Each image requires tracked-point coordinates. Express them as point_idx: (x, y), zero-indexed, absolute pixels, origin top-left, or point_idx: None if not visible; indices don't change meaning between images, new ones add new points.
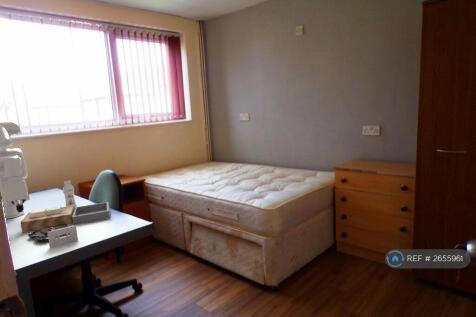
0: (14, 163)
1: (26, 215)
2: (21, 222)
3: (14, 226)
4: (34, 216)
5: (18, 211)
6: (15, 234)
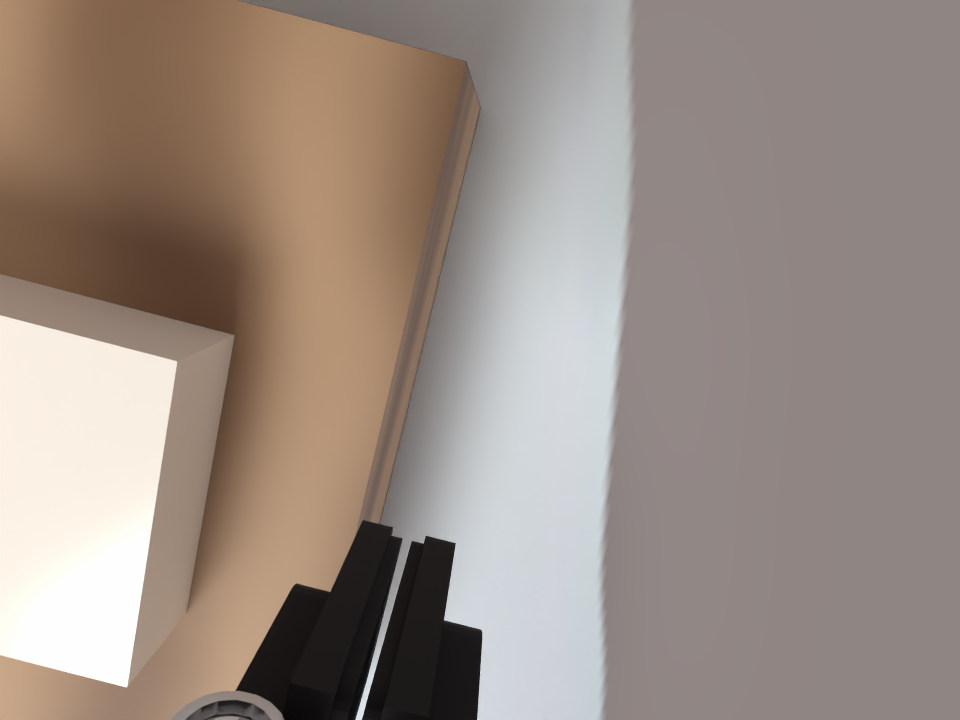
0: None
1: None
2: (443, 55)
3: (563, 666)
4: (139, 315)
5: (442, 553)
6: (587, 143)
